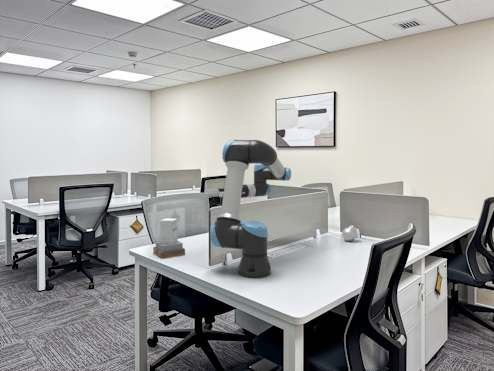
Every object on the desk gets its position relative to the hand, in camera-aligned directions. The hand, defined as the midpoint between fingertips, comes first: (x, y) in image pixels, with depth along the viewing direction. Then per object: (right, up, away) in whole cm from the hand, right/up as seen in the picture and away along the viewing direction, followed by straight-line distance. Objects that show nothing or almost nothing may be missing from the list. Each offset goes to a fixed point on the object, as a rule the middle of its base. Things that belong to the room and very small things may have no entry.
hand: (213, 193), depth 211 cm
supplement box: (-24, -27, -6) cm, 36 cm away
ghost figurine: (+82, -30, +23) cm, 90 cm away
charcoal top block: (-23, -29, -6) cm, 38 cm away
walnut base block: (-24, -33, -6) cm, 41 cm away
